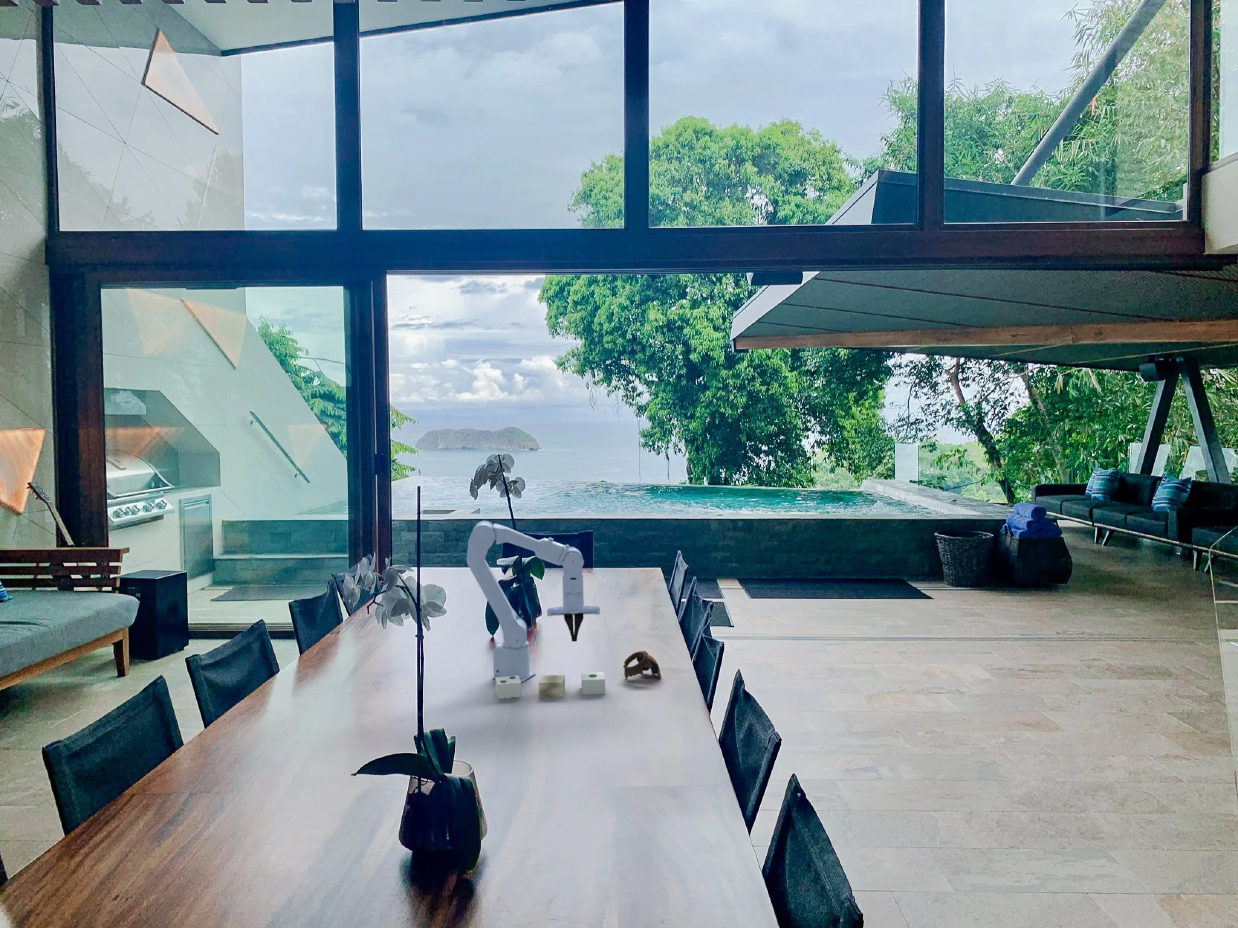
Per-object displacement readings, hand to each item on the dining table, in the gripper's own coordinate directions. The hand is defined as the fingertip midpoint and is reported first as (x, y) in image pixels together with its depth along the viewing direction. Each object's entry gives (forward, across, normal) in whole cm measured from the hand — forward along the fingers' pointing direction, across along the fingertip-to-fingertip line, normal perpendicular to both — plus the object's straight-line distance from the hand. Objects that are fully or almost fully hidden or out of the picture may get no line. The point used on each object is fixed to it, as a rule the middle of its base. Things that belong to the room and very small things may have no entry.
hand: (574, 640), depth 236 cm
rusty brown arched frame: (+10, +18, -5) cm, 22 cm away
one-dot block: (+10, +4, -15) cm, 18 cm away
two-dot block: (+10, -18, -15) cm, 25 cm away
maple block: (+10, -6, -15) cm, 19 cm away
